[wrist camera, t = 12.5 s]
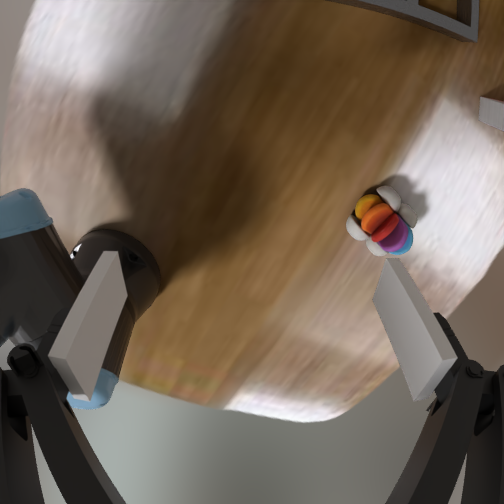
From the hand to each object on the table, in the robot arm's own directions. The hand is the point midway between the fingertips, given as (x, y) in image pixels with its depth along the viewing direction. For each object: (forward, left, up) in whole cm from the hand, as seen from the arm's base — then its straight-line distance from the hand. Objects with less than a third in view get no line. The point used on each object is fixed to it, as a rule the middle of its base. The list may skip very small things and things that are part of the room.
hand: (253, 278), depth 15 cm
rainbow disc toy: (+19, -9, -27) cm, 34 cm away
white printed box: (+35, +11, -27) cm, 45 cm away
